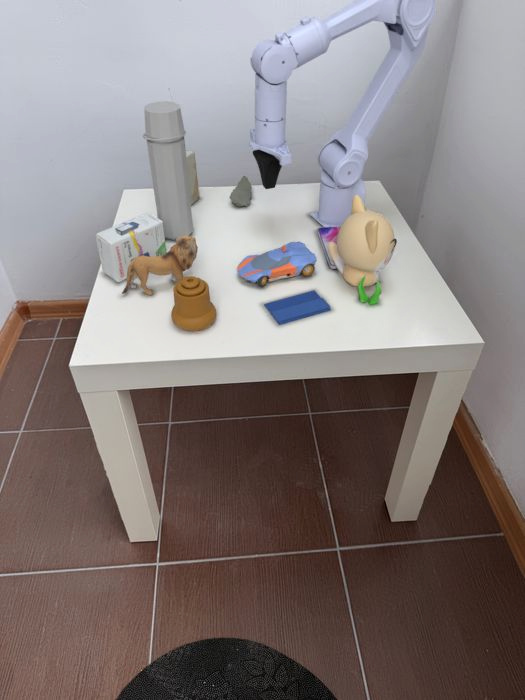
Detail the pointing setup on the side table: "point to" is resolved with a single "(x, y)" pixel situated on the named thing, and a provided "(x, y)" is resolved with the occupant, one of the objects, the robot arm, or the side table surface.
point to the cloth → (297, 307)
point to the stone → (242, 193)
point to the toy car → (278, 264)
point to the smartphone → (329, 236)
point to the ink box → (130, 244)
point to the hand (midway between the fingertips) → (269, 187)
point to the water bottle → (169, 167)
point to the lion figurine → (163, 263)
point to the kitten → (363, 248)
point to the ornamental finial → (192, 304)
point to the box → (192, 176)
